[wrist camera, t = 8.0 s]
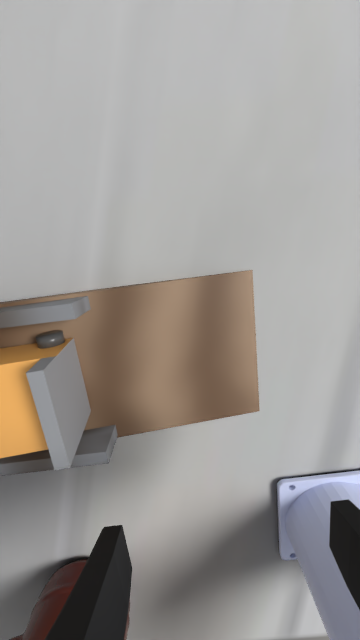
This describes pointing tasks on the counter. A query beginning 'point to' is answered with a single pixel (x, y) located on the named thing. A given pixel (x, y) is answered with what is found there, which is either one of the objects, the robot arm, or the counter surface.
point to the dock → (147, 356)
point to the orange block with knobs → (42, 399)
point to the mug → (55, 601)
